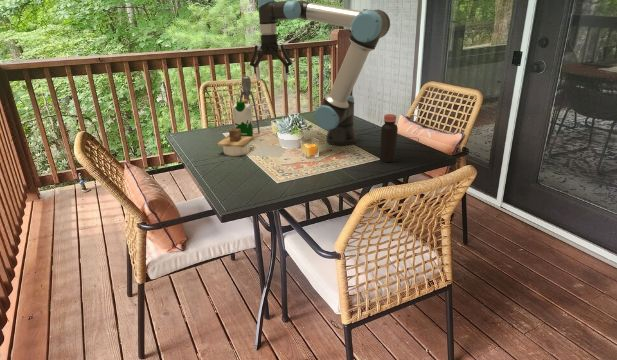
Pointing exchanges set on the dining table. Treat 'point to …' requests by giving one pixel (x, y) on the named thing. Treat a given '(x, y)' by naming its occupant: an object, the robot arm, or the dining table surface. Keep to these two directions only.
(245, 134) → the milk carton
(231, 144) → the lid
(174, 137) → the dining table surface
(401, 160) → the dining table surface
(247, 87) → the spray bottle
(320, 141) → the dining table surface
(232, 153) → the bowl
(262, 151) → the mat
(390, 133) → the bottle
